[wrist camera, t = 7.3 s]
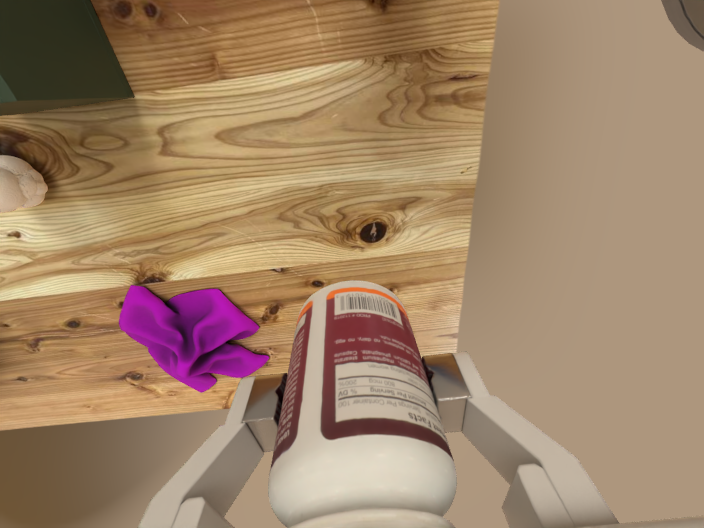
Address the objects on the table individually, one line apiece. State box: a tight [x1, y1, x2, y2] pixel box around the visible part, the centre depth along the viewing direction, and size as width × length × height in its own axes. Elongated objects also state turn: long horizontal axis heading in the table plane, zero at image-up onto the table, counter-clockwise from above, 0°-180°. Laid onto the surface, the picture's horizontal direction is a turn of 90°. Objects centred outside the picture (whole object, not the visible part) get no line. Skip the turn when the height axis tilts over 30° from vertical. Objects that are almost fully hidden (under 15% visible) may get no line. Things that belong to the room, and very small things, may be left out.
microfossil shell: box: [0, 155, 48, 213], centre depth 25 cm, size 4×5×6 cm
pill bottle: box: [268, 280, 457, 528], centre depth 9 cm, size 5×5×8 cm
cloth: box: [119, 285, 269, 392], centre depth 37 cm, size 22×19×6 cm
